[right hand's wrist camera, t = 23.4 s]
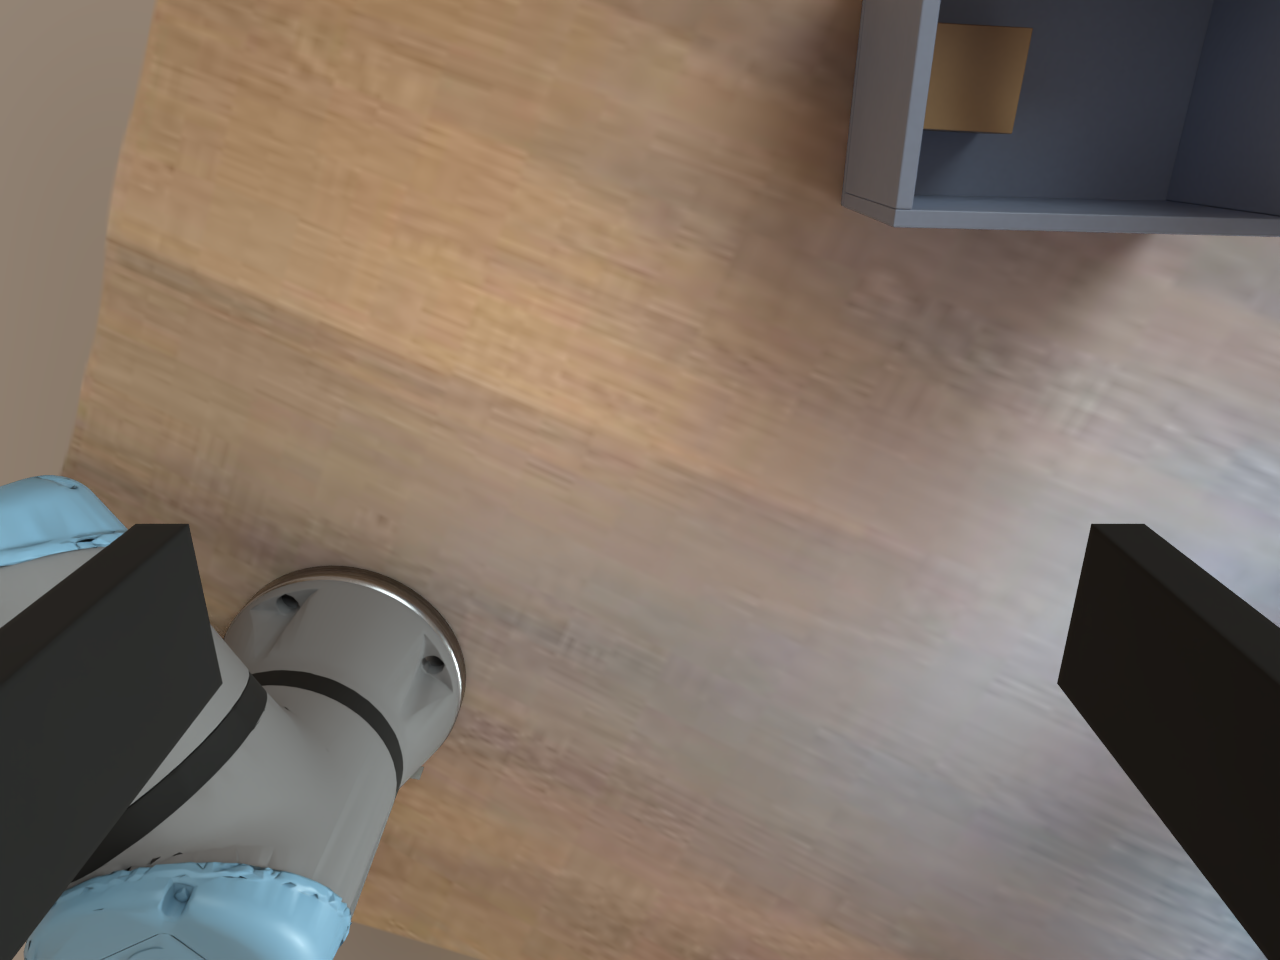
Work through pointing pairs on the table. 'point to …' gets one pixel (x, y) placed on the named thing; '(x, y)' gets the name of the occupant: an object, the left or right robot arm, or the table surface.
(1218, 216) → the chest
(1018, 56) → the block
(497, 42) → the table surface
